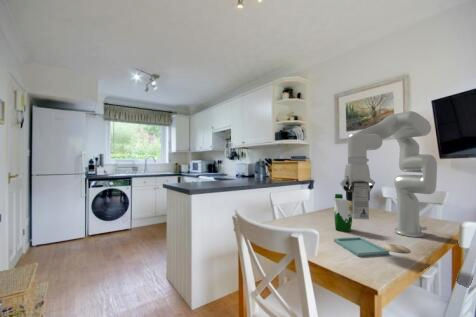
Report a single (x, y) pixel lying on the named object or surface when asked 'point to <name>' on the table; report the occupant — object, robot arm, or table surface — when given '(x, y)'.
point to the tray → (361, 246)
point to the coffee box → (359, 201)
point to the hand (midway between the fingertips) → (357, 200)
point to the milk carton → (342, 214)
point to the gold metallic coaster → (396, 248)
